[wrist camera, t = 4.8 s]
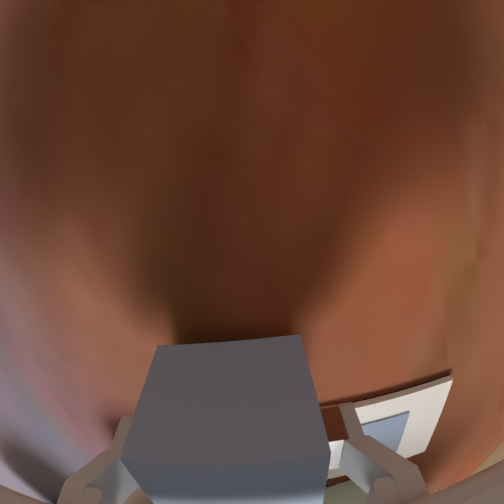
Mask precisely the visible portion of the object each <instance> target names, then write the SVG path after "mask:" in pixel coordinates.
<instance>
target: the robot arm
mask: <svg viewBox="0 0 504 504" xmlns="http://www.w3.org/2000/svg"><path fill="white" fill-rule="evenodd" d="M320 410H321V414H322V418H323V422H324V426H325V430H326V434H327V438H328V442H329V446H330V450H331V458H330V465H329V469H335V468H339V469H340V470H341V471H342V472H343V473H344V474H345V475H346V476H348V477H349V478H350V479H351V480H352V481H353V482H354V483H355V484H357V485H358V486H359V487H360V488H361V489H362V490H363V491H364V492H366V493H367V494H368V495H367V497H366V499H365V502H364V504H504V459H503V460H501V461H499V462H497V463H496V464H494V465H492V466H490V467H488V468H486V469H484V470H482V471H480V472H478V473H476V474H474V475H472V476H470V477H468V478H466V479H464V480H462V481H459V482H457V483H455V484H453V485H450V486H448V487H446V488H443V489H441V490H438V491H436V492H433V493H431V494H429V492H428V489H427V487H426V485H425V482H424V480H423V478H422V475H421V473H420V471H419V468H418V466H417V465H415V464H414V463H412V462H410V461H409V460H407V459H405V458H404V457H402V456H401V455H399V454H398V453H396V452H394V451H393V450H391V449H390V448H388V447H387V446H385V445H384V444H382V443H381V442H379V441H377V440H376V439H374V438H373V437H371V436H370V435H366V436H365V434H364V432H363V429H362V426H361V423H360V421H359V418H358V415H357V413H356V410H355V407H354V404H353V403H352V402H347V403H342V404H335V405H330V406H324V407H320ZM132 420H133V417H129V416H123V417H122V418H121V419H120V422H119V425H118V427H117V430H116V433H115V436H114V439H113V442H112V445H111V447H110V449H105V450H104V451H103V452H101V453H100V454H99V455H98V456H96V457H95V458H94V459H92V460H91V461H90V462H89V463H87V464H86V465H85V466H83V467H82V468H81V469H79V470H78V471H77V472H75V473H74V474H73V475H71V476H70V477H69V478H67V479H66V480H65V482H64V485H63V487H62V490H61V493H60V495H59V498H58V501H57V503H56V504H123V503H124V502H125V500H126V499H127V498H128V497H129V496H130V495H131V494H132V493H133V492H134V491H135V490H136V489H137V487H138V486H139V485H138V483H137V482H136V481H135V479H134V478H133V477H132V475H131V474H130V473H129V471H128V470H127V468H126V467H125V466H124V464H123V463H122V461H121V460H120V459H121V455H122V452H123V449H124V445H125V442H126V439H127V436H128V432H129V429H130V426H131V423H132ZM0 504H49V503H46V502H43V501H40V500H37V499H34V498H32V497H29V496H26V495H24V494H21V493H19V492H16V491H14V490H11V489H9V488H7V487H4V486H2V485H0Z"/></svg>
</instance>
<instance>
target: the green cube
mask: <svg viewBox="0 0 504 504" xmlns="http://www.w3.org/2000/svg"><path fill="white" fill-rule="evenodd" d="M367 495H368V494H367V493H366V492H364V491H363V490H362V489H361V488H360V487H359V486H358V485H357V484H355V483H354V482H353V481H352V480H349V481H346V482H343V483H340V484H337V485H333V486H330V487H327V488H326V489H325V494H324V499H323V504H364V502H365V499H366V497H367Z"/></svg>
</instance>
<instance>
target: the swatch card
mask: <svg viewBox="0 0 504 504" xmlns="http://www.w3.org/2000/svg"><path fill="white" fill-rule="evenodd" d="M452 381H453V379H452V377H451V376H450V375H449V376H446V377H443V378H440V379H437V380H434V381H431V382H428V383H425V384H422V385H419V386H415V387H412V388H409V389H405V390H402V391H398V392H395V393H391V394H387V395H383V396H380V397H376V398H372V399H367V400H363V401H359V402H355V403H353V404H354V407H355V410H356V413H357V415H358V418H359V421H360V423H361V426H362V429H363V432H364V434H365V436H366V435H370V436H371V437H373V438H374V439H376V440H377V441H379V442H381V443H382V444H384V445H385V446H387V447H388V448H390V449H391V450H393V451H394V452H396V453H398V454H399V455H401V456H402V457H404V458H408V457H411V456H414V455H417V454H420V453H422V452H425V450H426V448H427V445H428V443H429V441H430V439H431V436H432V434H433V432H434V429H435V427H436V425H437V422H438V420H439V417H440V415H441V412H442V409H443V407H444V404H445V401H446V399H447V396H448V393H449V390H450V387H451V384H452ZM344 475H345V474H344V473H343V472H342V471H341V470H340V469H339V468H335V469H329V471H328V477H327V479H330V478H335V477H340V476H344Z"/></svg>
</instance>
